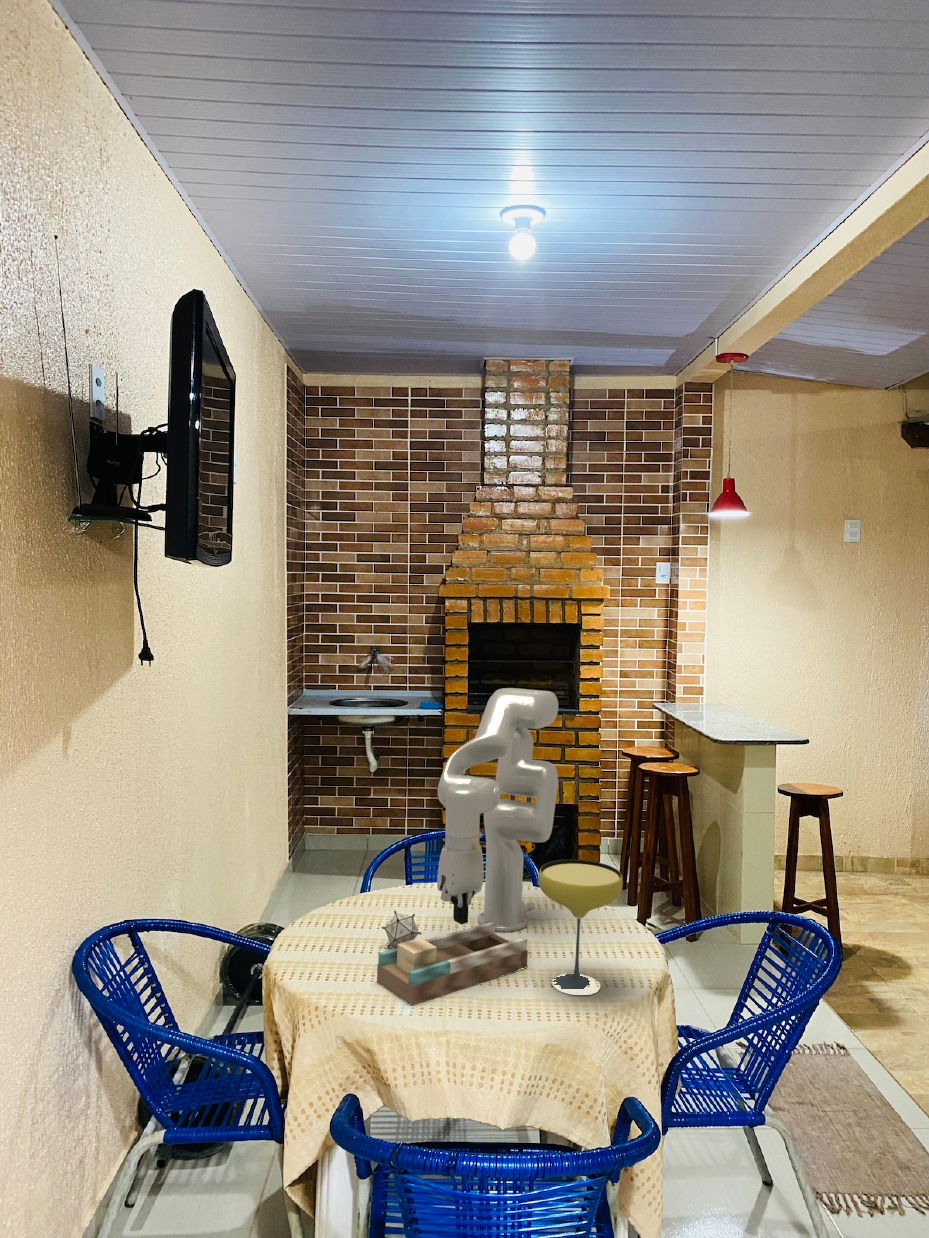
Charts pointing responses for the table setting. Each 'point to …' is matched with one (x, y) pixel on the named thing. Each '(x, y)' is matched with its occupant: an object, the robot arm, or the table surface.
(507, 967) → the trap deck
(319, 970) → the table surface
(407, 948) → the maple block
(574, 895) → the cocktail glass
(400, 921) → the game die
